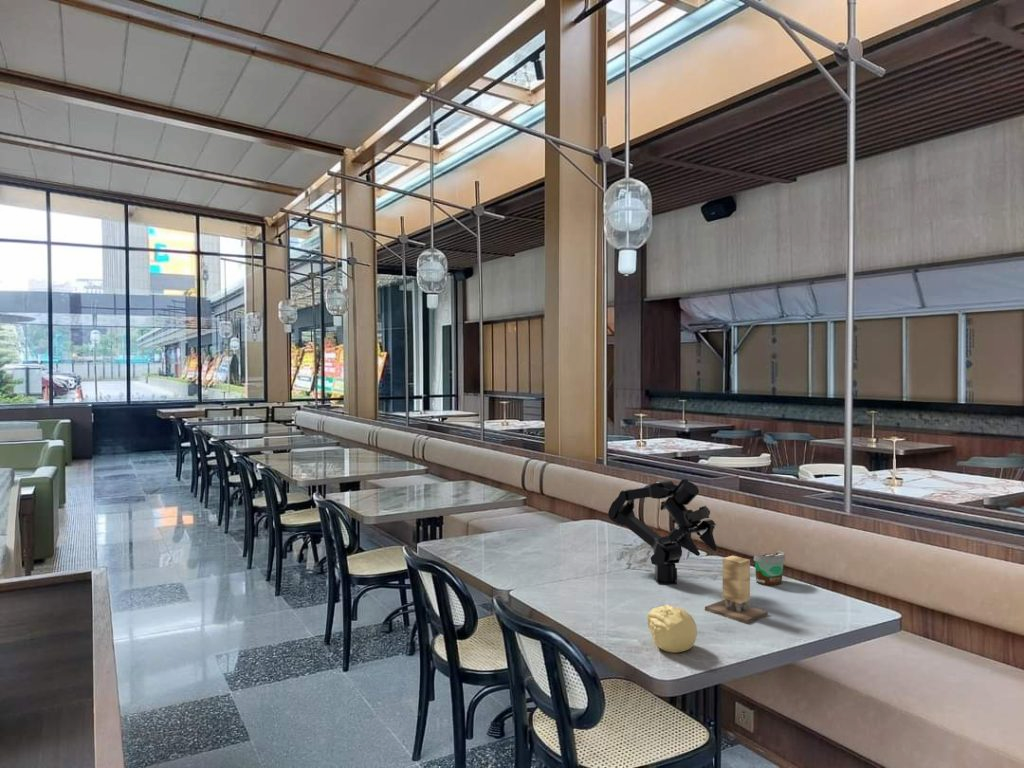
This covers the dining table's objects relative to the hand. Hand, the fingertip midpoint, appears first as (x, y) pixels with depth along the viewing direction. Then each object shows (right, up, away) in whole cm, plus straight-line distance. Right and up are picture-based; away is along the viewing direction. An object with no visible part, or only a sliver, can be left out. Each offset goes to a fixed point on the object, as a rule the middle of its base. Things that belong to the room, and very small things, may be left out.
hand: (707, 552), depth 212 cm
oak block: (+4, -10, -16) cm, 19 cm away
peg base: (+4, -14, -16) cm, 21 cm away
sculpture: (-21, -15, -41) cm, 48 cm away
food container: (+26, -14, +11) cm, 31 cm away
